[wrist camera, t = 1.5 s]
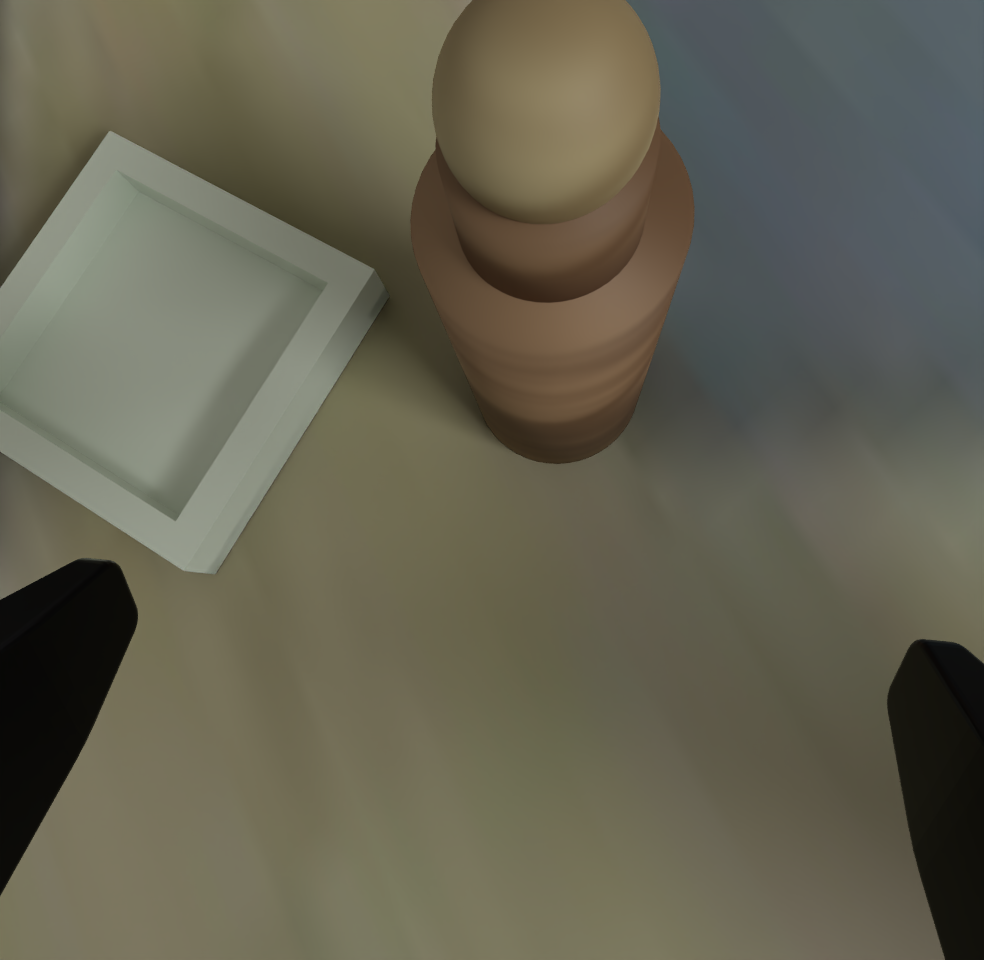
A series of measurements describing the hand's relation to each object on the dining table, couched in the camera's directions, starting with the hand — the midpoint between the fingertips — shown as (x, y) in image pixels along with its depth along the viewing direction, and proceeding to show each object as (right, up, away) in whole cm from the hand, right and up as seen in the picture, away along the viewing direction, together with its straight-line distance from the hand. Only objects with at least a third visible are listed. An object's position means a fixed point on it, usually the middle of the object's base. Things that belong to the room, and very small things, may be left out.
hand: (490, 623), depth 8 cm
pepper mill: (+2, +4, +13) cm, 14 cm away
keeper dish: (-10, +6, +15) cm, 19 cm away
